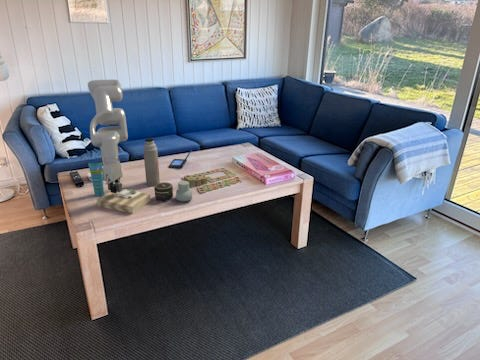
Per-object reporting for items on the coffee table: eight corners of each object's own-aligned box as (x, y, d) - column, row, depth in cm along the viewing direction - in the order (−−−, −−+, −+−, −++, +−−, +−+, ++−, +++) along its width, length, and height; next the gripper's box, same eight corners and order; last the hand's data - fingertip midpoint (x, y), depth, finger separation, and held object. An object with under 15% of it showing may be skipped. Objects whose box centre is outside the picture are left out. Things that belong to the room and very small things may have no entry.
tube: (92, 196, 206) (87, 164, 199) (93, 193, 210) (88, 161, 203) (106, 195, 208) (101, 163, 200) (106, 192, 212) (102, 160, 205)
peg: (109, 194, 199) (107, 182, 196) (111, 192, 201) (110, 181, 198) (130, 198, 195) (128, 186, 192) (132, 196, 197) (131, 184, 194)
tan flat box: (97, 206, 196) (96, 198, 194) (118, 193, 211) (117, 186, 209) (132, 213, 189) (131, 205, 187) (151, 199, 204) (151, 192, 202)
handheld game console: (174, 160, 263) (173, 148, 259) (192, 161, 262) (192, 149, 258) (168, 168, 249) (167, 155, 245) (187, 169, 247) (187, 156, 244)
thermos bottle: (161, 181, 227) (158, 137, 216) (156, 186, 220) (153, 141, 209) (149, 180, 229) (145, 136, 218) (144, 185, 222) (139, 140, 211)
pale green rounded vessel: (177, 195, 210) (176, 178, 206) (192, 194, 210) (191, 178, 206) (176, 203, 200) (175, 186, 196) (191, 203, 200) (190, 186, 196)
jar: (165, 192, 212) (164, 180, 210) (177, 197, 207) (176, 185, 204) (151, 198, 205) (150, 185, 202) (163, 203, 200) (162, 190, 197)
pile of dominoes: (199, 195, 211) (199, 186, 209) (177, 180, 231) (176, 171, 229) (247, 181, 231) (248, 173, 228) (223, 168, 250) (223, 161, 248)
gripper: (114, 153, 199) (118, 184, 206) (95, 163, 185) (100, 196, 192) (126, 154, 197) (130, 186, 204) (108, 164, 183) (112, 198, 190)
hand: (115, 191), depth 198 cm, fingers closed on peg, 2 cm apart
